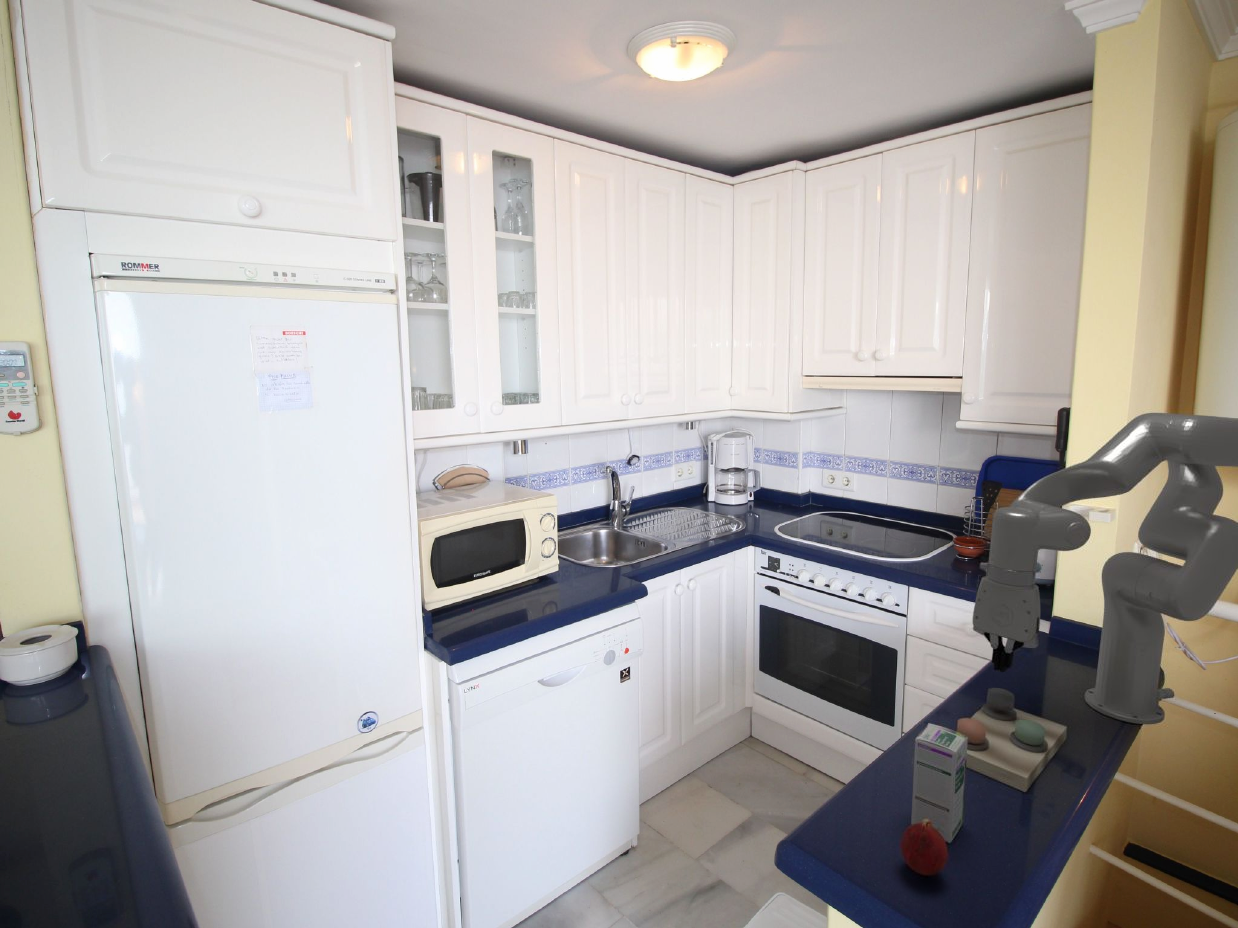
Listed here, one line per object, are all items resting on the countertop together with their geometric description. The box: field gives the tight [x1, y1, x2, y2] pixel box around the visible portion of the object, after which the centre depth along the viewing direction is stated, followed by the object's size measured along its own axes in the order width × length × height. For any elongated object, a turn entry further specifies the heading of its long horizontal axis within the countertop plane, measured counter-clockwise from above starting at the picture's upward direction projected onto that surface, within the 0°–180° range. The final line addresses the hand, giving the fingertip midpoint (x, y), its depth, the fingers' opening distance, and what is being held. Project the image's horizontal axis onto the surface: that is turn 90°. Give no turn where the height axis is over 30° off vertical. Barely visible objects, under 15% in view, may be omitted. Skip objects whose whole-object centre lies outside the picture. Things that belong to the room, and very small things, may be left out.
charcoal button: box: [986, 687, 1016, 711], centre depth 123 cm, size 4×4×2 cm
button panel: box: [955, 702, 1068, 793], centre depth 117 cm, size 22×13×3 cm, turn 132°
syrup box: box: [910, 722, 968, 844], centre depth 97 cm, size 6×6×14 cm
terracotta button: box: [956, 717, 986, 744], centre depth 114 cm, size 4×4×2 cm
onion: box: [900, 819, 949, 876], centre depth 88 cm, size 6×6×8 cm
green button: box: [1014, 719, 1045, 745], centre depth 114 cm, size 4×4×2 cm
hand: (1001, 668), depth 122 cm, fingers closed
